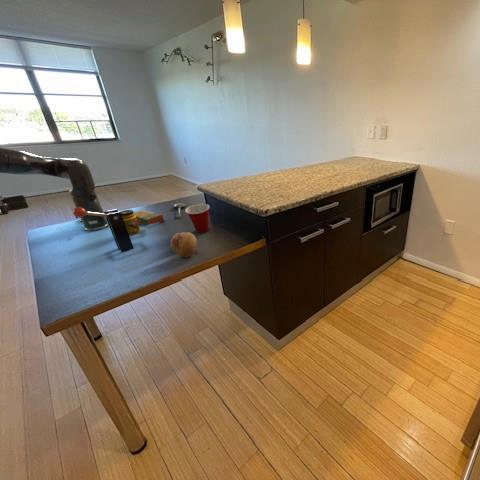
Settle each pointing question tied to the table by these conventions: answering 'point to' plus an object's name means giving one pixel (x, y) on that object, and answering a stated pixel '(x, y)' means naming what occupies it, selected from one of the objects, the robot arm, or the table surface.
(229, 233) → the table surface
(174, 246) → the bread roll
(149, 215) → the carton
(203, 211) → the plastic cup
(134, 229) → the condiment
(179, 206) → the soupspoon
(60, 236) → the table surface
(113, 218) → the black tall block
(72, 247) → the table surface
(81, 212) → the tap lever
